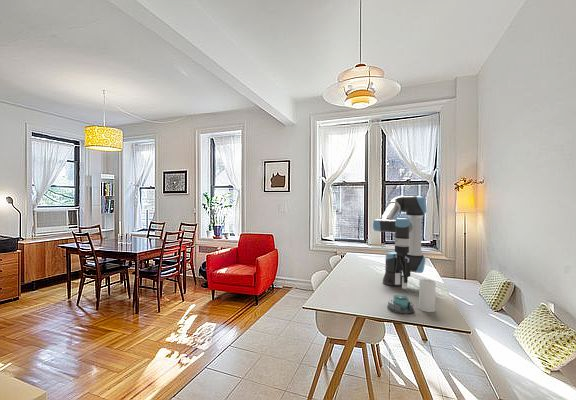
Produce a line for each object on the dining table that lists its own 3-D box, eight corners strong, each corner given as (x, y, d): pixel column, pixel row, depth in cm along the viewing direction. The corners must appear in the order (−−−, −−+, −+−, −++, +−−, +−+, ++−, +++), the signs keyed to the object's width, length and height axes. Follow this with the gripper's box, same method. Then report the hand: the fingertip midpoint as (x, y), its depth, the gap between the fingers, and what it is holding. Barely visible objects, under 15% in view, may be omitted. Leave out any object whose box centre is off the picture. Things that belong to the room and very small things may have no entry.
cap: (402, 304, 167) (402, 294, 166) (411, 309, 159) (411, 298, 159) (390, 305, 165) (390, 294, 165) (398, 310, 157) (399, 299, 157)
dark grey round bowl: (404, 304, 170) (405, 297, 170) (419, 313, 156) (419, 306, 156) (382, 305, 168) (383, 298, 167) (395, 314, 154) (395, 307, 154)
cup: (416, 306, 166) (416, 279, 166) (429, 306, 167) (430, 279, 167) (423, 312, 158) (424, 283, 158) (438, 312, 159) (438, 283, 158)
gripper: (386, 242, 170) (386, 281, 171) (405, 248, 151) (404, 292, 151) (398, 242, 172) (397, 281, 172) (418, 248, 153) (417, 291, 153)
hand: (401, 286), depth 162 cm, fingers open, 6 cm apart
